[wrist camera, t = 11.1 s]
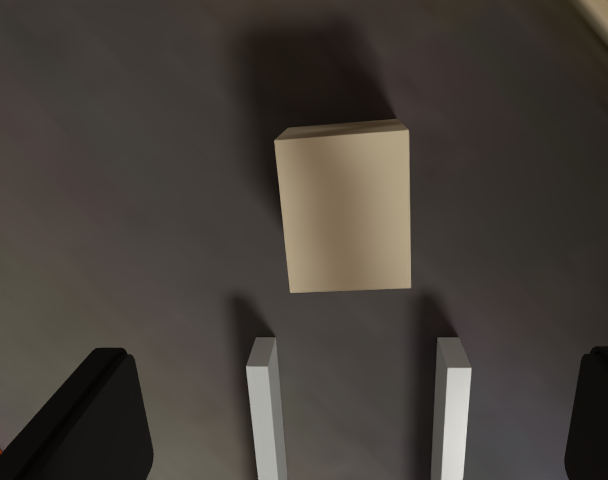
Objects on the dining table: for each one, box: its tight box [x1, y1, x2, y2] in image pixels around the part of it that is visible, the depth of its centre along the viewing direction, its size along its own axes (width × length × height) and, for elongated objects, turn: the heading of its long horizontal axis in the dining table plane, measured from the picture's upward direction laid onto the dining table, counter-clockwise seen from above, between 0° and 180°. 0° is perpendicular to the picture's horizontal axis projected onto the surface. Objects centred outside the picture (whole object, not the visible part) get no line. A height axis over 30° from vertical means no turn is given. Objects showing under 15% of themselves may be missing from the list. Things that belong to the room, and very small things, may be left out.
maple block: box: [274, 119, 411, 293], centre depth 23 cm, size 6×7×5 cm
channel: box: [246, 337, 471, 480], centre depth 29 cm, size 12×16×3 cm
